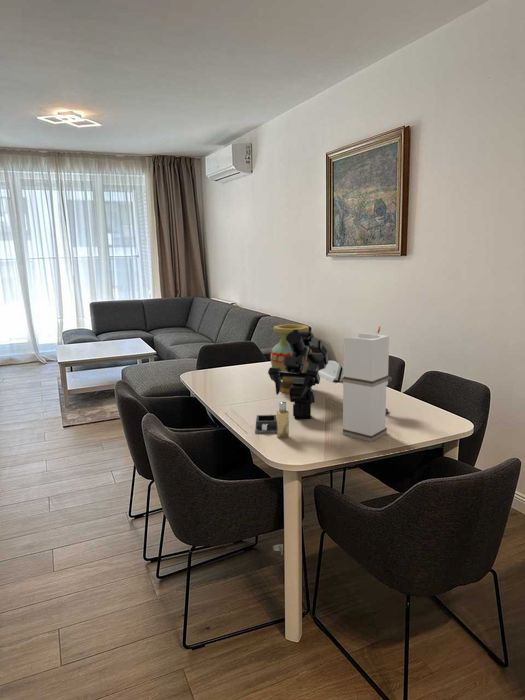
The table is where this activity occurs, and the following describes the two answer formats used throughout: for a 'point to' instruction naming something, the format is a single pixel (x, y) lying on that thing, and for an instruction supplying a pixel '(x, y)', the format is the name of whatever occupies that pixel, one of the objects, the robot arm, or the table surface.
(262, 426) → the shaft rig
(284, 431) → the gold perfume bottle
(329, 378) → the hinge
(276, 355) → the vase
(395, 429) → the table surface
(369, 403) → the white banded pillar
